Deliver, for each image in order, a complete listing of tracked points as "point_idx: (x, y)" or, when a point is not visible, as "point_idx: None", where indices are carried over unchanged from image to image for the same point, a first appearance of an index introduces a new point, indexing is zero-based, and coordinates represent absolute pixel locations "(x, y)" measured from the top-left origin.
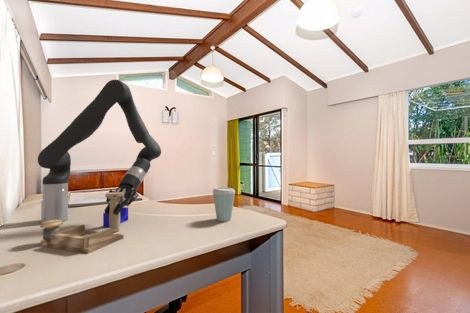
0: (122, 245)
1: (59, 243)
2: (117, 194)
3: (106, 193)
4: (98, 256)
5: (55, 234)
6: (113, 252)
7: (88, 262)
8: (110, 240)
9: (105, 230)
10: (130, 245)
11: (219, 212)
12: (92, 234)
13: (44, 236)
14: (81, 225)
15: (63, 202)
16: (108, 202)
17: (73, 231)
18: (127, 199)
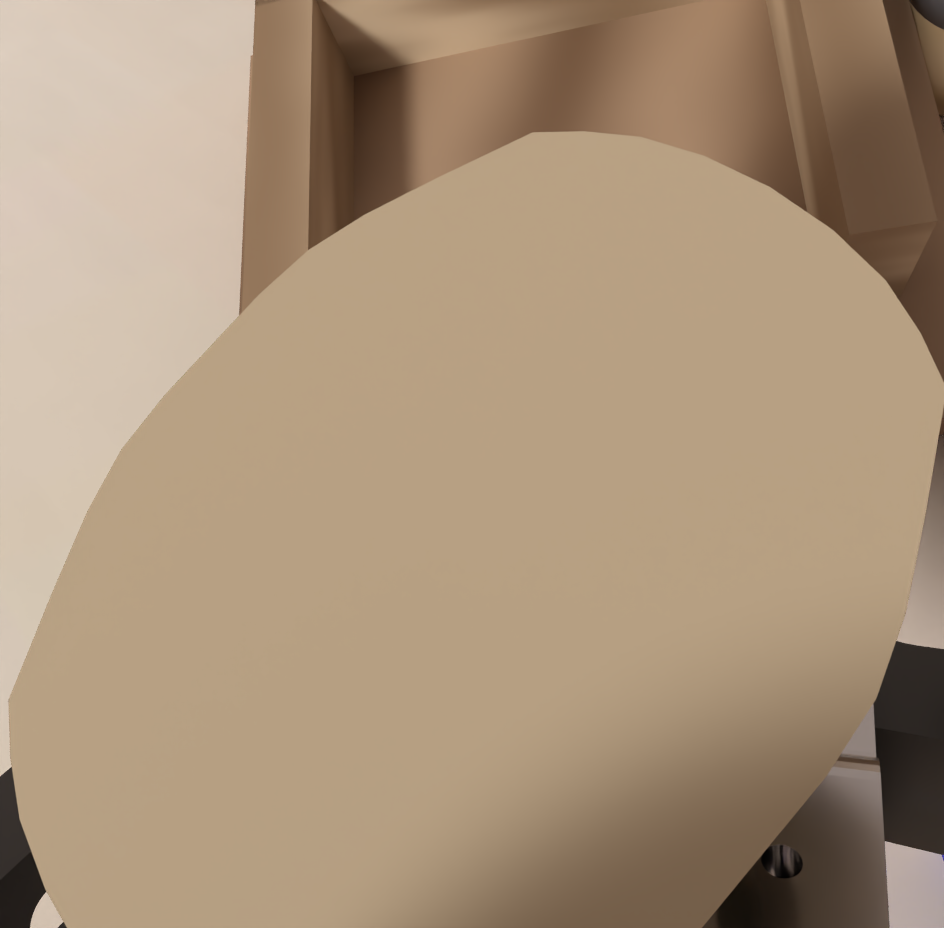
0: (108, 344)
1: None
2: (144, 457)
3: (777, 252)
4: (138, 95)
5: None
6: (76, 199)
7: (128, 9)
8: (240, 296)
9: (272, 228)
10: (31, 380)
11: None
12: (300, 69)
13: None
14: (891, 197)
15: None
16: (914, 651)
17: (807, 88)
18: (12, 785)
